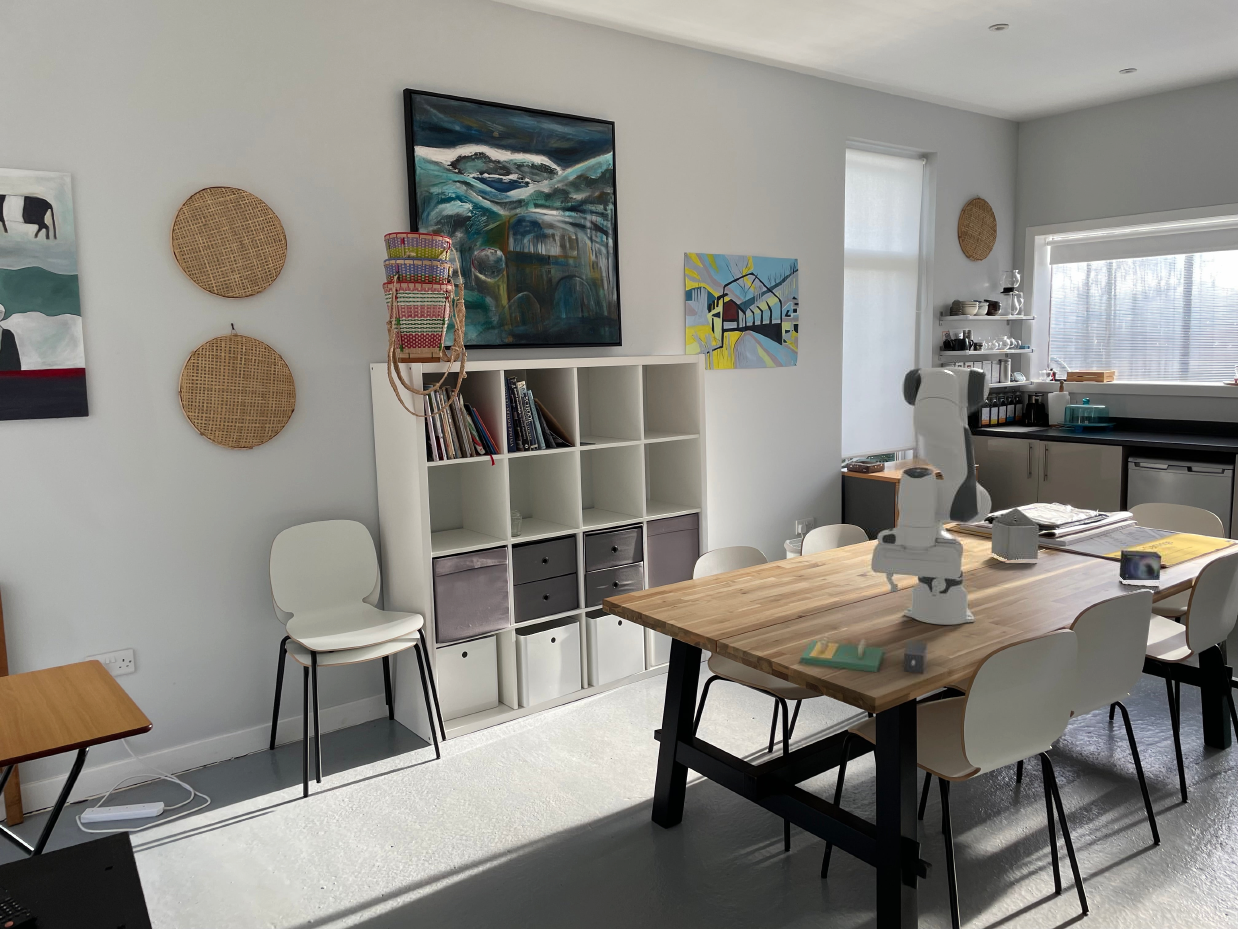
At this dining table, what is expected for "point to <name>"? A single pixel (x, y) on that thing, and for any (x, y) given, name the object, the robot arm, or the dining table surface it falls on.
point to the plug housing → (915, 657)
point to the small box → (1140, 565)
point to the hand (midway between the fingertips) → (914, 593)
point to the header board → (843, 655)
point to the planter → (1015, 536)
